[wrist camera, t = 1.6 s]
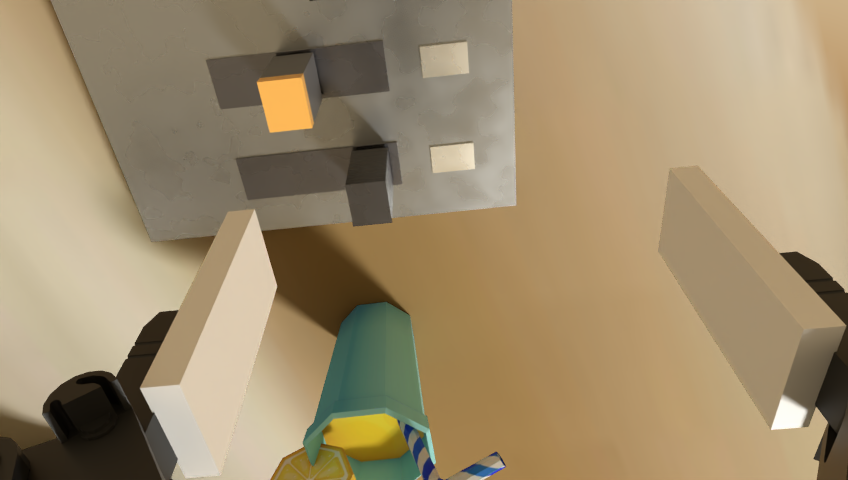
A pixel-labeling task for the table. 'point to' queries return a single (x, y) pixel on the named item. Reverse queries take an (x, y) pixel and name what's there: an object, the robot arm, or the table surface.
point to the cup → (373, 409)
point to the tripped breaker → (290, 92)
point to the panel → (336, 119)
